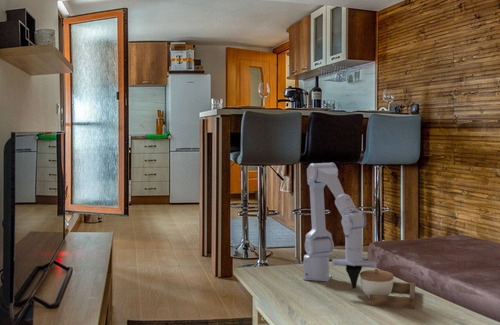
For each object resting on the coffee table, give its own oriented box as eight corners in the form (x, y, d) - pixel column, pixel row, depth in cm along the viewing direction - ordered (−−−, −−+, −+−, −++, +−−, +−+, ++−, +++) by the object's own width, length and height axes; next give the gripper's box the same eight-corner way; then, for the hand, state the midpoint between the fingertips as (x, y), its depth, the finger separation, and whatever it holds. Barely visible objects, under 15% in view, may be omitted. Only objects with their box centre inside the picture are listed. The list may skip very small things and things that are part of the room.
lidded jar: (394, 293, 169) (394, 266, 168) (392, 303, 159) (392, 274, 158) (362, 291, 172) (362, 264, 172) (358, 300, 162) (358, 272, 162)
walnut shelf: (369, 304, 158) (369, 295, 158) (374, 288, 175) (374, 280, 175) (414, 308, 153) (414, 299, 153) (415, 291, 170) (415, 283, 170)
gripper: (330, 249, 166) (330, 289, 167) (375, 251, 161) (375, 293, 162) (333, 244, 173) (334, 283, 173) (376, 247, 168) (377, 286, 168)
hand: (354, 287), depth 168 cm, fingers closed
